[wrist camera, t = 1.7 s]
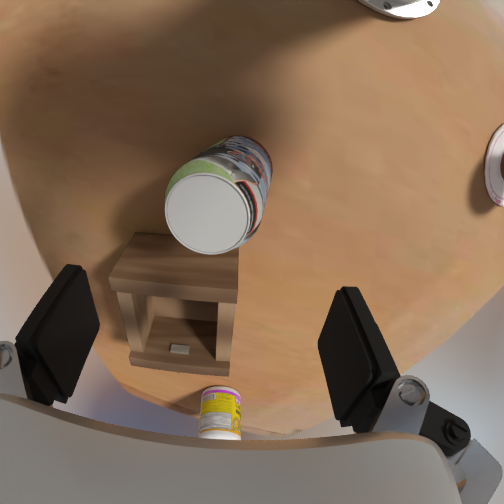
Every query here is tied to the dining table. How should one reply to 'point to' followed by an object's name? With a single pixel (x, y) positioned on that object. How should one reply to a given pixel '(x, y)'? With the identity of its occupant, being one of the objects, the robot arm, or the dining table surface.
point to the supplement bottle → (220, 414)
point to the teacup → (495, 167)
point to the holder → (176, 304)
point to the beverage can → (219, 196)
